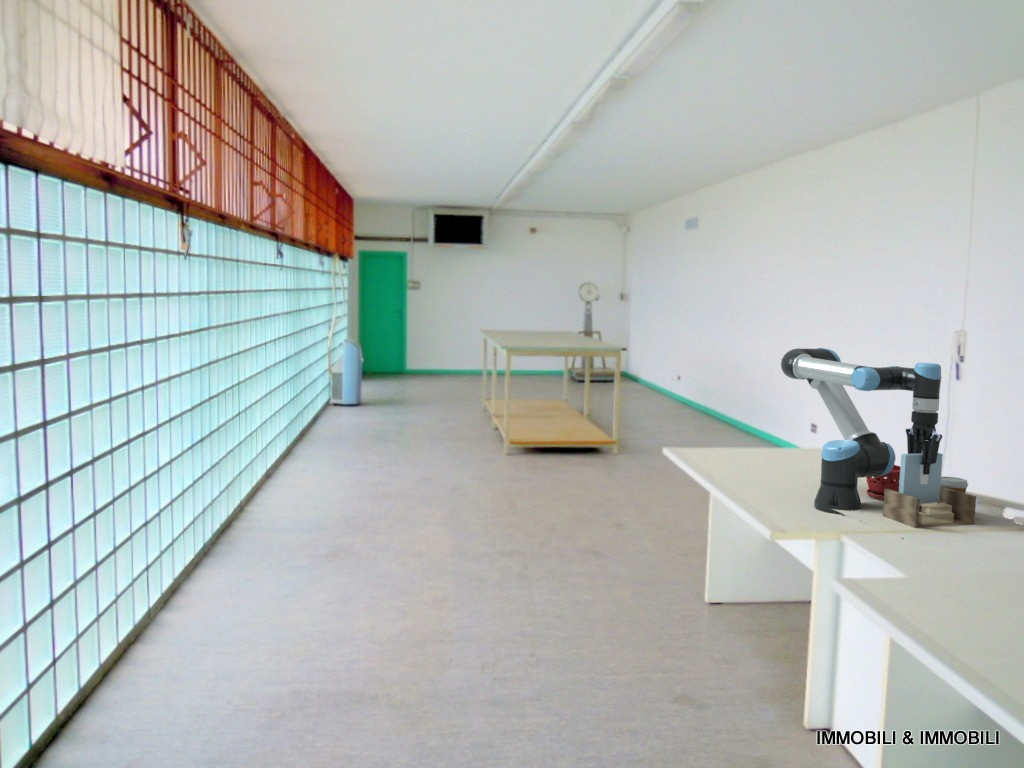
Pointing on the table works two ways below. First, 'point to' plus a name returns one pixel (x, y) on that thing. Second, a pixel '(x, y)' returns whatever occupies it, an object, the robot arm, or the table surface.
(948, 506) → the offcut stack
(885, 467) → the robot arm
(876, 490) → the plant pot
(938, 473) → the panel
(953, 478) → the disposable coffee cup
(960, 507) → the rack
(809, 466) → the table surface
